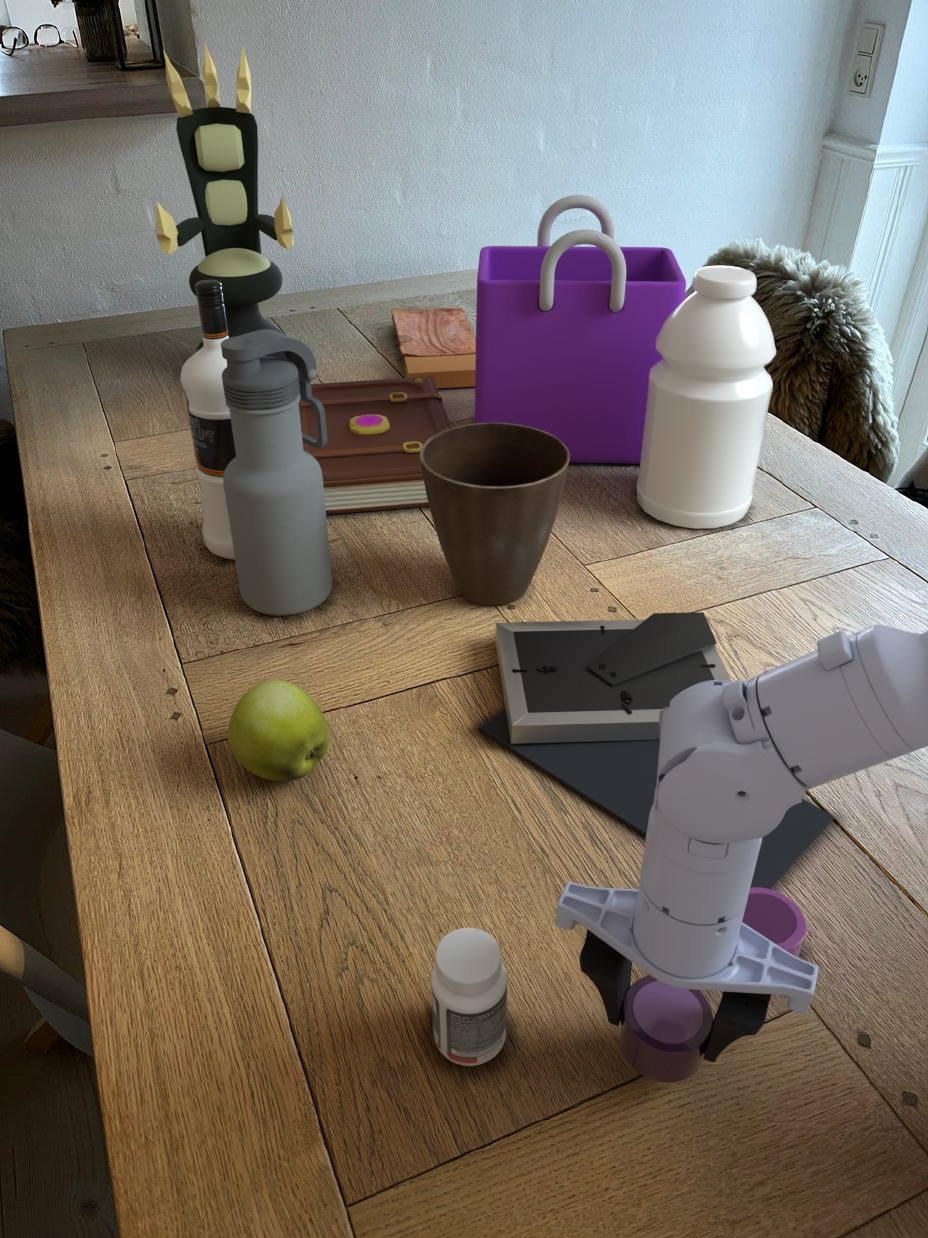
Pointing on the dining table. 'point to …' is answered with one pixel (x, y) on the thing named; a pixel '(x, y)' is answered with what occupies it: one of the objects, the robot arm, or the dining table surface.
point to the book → (374, 441)
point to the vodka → (210, 417)
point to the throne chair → (225, 200)
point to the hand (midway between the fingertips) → (665, 1029)
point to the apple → (278, 731)
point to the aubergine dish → (664, 1030)
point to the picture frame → (600, 675)
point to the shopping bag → (573, 335)
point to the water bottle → (275, 475)
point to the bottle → (707, 404)
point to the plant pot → (493, 504)
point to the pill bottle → (469, 997)
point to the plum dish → (775, 918)
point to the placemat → (650, 791)
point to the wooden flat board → (437, 345)
